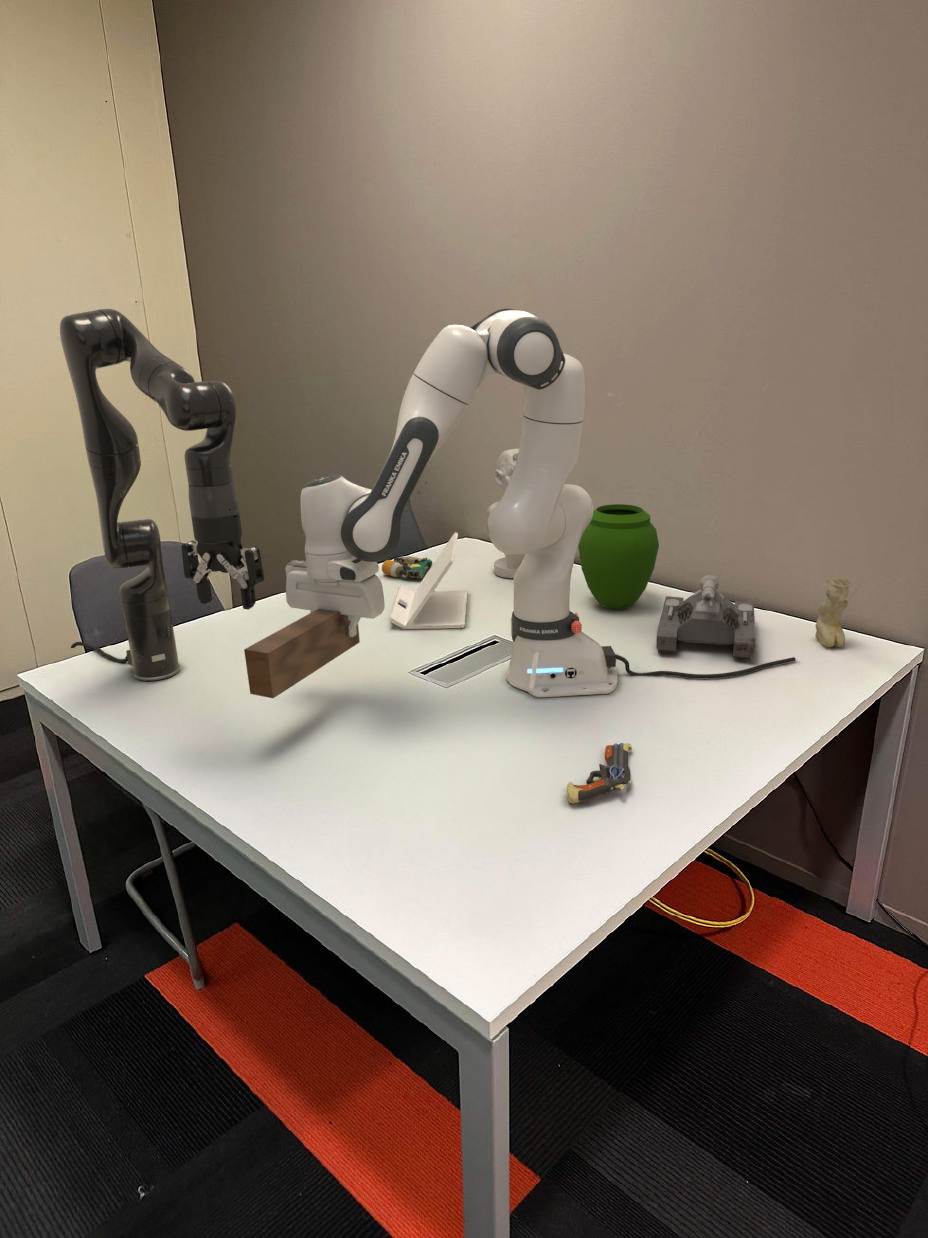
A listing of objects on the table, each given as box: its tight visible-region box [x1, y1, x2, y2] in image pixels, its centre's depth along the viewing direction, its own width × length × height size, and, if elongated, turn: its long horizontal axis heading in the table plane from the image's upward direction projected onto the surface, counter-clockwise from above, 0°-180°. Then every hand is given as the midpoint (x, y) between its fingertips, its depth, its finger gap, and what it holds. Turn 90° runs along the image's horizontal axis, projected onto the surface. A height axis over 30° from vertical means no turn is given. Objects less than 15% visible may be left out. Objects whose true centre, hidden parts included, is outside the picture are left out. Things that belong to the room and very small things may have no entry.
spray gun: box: [381, 555, 433, 579], centre depth 244 cm, size 4×17×15 cm
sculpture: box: [814, 576, 852, 648], centre depth 185 cm, size 6×7×15 cm
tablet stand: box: [388, 531, 468, 630], centre depth 211 cm, size 18×25×17 cm
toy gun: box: [566, 742, 633, 804], centre depth 138 cm, size 3×19×10 cm
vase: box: [578, 503, 660, 610], centre depth 210 cm, size 20×20×24 cm
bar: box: [243, 609, 361, 699], centre depth 154 cm, size 27×5×8 cm, turn 154°
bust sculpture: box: [485, 448, 525, 579], centre depth 231 cm, size 16×24×35 cm
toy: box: [655, 574, 756, 660], centre depth 189 cm, size 25×20×15 cm
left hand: (227, 605), depth 143 cm, fingers open, 8 cm apart
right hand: (337, 633), depth 163 cm, fingers closed on bar, 5 cm apart
